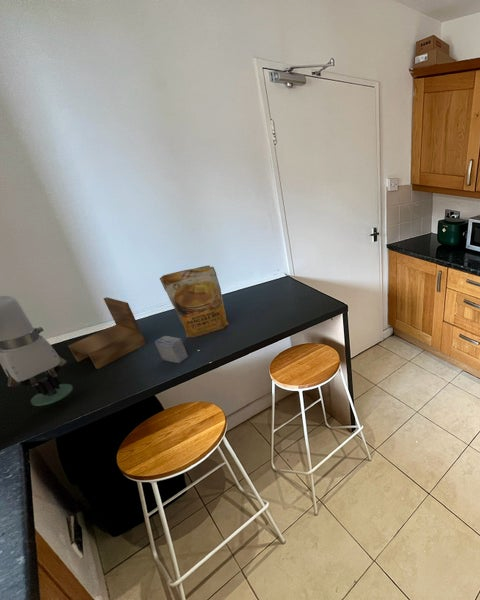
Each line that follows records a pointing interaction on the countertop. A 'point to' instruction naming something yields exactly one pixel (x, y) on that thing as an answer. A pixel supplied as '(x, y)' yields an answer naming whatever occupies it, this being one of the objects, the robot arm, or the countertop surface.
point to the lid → (51, 393)
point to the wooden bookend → (111, 337)
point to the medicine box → (171, 349)
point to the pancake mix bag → (196, 300)
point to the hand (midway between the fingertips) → (49, 390)
